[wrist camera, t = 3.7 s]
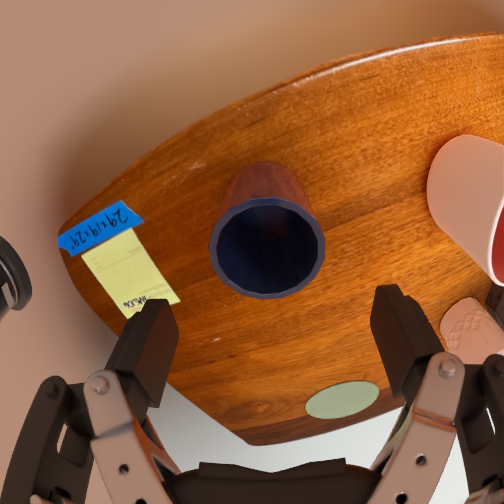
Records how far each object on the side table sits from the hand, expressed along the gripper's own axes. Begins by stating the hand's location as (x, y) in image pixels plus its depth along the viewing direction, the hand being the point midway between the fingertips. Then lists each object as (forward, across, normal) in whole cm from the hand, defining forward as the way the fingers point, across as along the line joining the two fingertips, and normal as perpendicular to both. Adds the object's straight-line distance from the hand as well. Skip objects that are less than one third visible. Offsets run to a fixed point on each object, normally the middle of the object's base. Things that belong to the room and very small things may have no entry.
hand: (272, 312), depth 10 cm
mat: (+14, -10, +33) cm, 37 cm away
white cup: (+14, -25, +17) cm, 33 cm away
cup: (+14, -19, -1) cm, 23 cm away
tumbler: (+14, 0, 0) cm, 14 cm away
